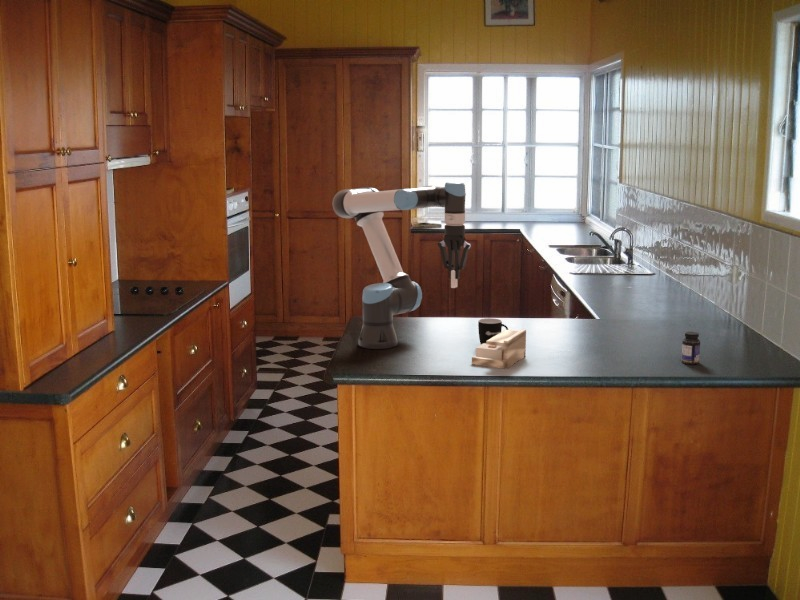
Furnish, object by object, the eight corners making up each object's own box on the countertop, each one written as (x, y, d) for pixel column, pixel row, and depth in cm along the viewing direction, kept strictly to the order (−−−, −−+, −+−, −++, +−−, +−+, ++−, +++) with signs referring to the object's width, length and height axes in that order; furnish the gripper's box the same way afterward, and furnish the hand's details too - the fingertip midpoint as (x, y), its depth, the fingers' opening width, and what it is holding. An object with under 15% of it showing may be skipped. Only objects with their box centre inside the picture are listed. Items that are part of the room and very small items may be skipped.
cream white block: (475, 360, 322) (475, 346, 321) (483, 356, 328) (483, 341, 327) (501, 364, 317) (501, 349, 316) (508, 359, 323) (508, 345, 322)
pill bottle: (695, 360, 321) (697, 330, 318) (701, 364, 315) (703, 334, 312) (678, 360, 320) (680, 330, 318) (684, 365, 314) (686, 334, 312)
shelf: (471, 364, 317) (472, 337, 315) (491, 351, 333) (491, 326, 331) (507, 368, 311) (507, 341, 309) (525, 356, 327) (526, 329, 325)
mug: (482, 349, 336) (482, 323, 334) (475, 344, 345) (475, 318, 343) (512, 348, 339) (512, 322, 337) (504, 342, 347) (504, 317, 345)
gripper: (434, 224, 325) (434, 287, 330) (467, 226, 319) (466, 290, 324) (442, 222, 332) (442, 284, 337) (475, 224, 326) (474, 287, 331)
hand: (454, 287), depth 330 cm, fingers closed
